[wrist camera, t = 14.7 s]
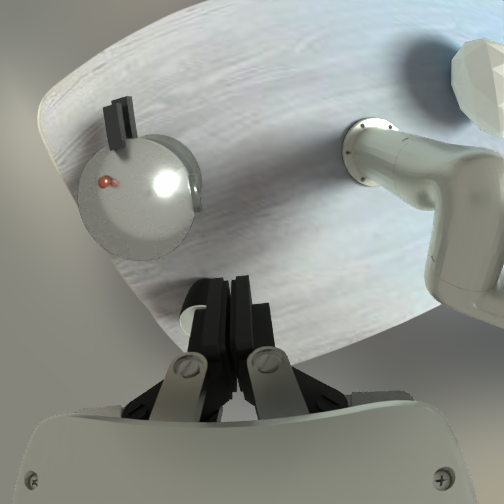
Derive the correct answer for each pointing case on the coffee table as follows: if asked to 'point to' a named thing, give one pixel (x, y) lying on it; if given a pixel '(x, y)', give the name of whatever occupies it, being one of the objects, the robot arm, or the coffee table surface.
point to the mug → (193, 304)
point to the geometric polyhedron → (480, 84)
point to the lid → (136, 195)
